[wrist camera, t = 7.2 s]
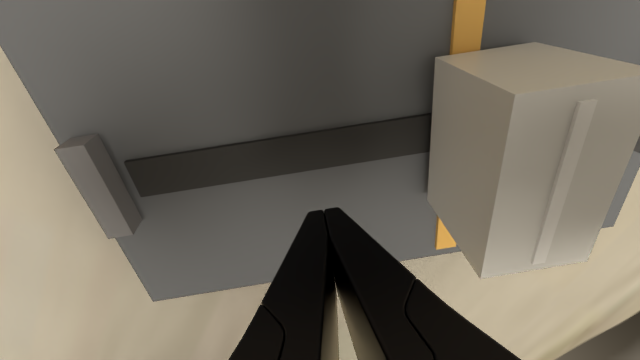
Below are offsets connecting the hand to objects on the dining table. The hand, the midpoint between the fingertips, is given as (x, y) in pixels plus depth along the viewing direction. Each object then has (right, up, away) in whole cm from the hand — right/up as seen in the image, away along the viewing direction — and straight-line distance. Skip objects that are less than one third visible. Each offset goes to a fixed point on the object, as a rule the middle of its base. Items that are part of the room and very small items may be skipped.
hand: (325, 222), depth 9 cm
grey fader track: (+2, +4, +6) cm, 7 cm away
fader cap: (+6, +3, +4) cm, 8 cm away
